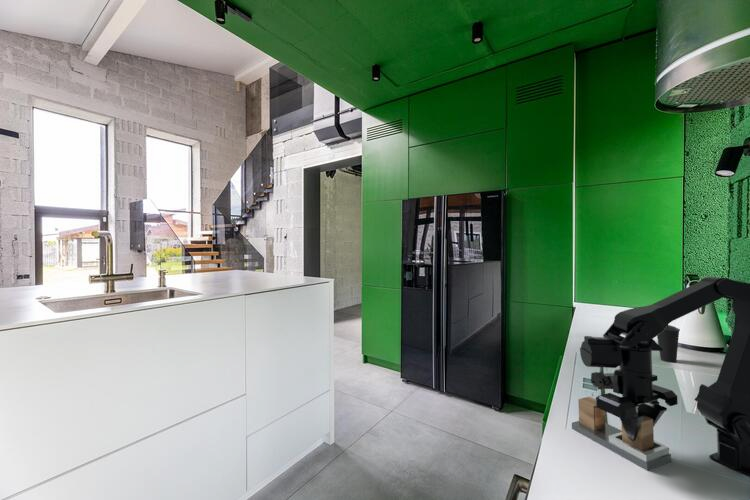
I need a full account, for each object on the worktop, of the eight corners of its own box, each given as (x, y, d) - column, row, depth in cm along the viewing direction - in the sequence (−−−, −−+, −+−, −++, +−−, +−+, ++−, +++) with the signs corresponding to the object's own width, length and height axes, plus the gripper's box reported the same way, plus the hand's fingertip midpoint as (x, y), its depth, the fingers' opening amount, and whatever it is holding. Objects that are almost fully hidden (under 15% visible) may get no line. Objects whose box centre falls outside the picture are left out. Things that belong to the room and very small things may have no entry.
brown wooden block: (589, 419, 83) (589, 396, 83) (606, 427, 79) (605, 403, 79) (579, 422, 81) (578, 399, 82) (595, 430, 77) (594, 406, 78)
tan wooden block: (653, 446, 69) (653, 419, 69) (642, 450, 68) (641, 422, 68) (632, 435, 73) (631, 410, 73) (620, 439, 72) (620, 413, 72)
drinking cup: (651, 358, 133) (650, 311, 133) (663, 356, 135) (662, 310, 136) (673, 364, 126) (671, 315, 126) (685, 362, 128) (684, 313, 128)
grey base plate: (593, 422, 84) (593, 411, 84) (671, 461, 68) (670, 447, 68) (571, 428, 81) (571, 416, 81) (647, 470, 65) (646, 456, 65)
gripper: (624, 353, 81) (626, 413, 81) (572, 362, 75) (574, 427, 75) (677, 367, 71) (680, 436, 71) (622, 379, 65) (624, 455, 64)
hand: (637, 437), depth 70 cm, fingers closed on tan wooden block, 4 cm apart
